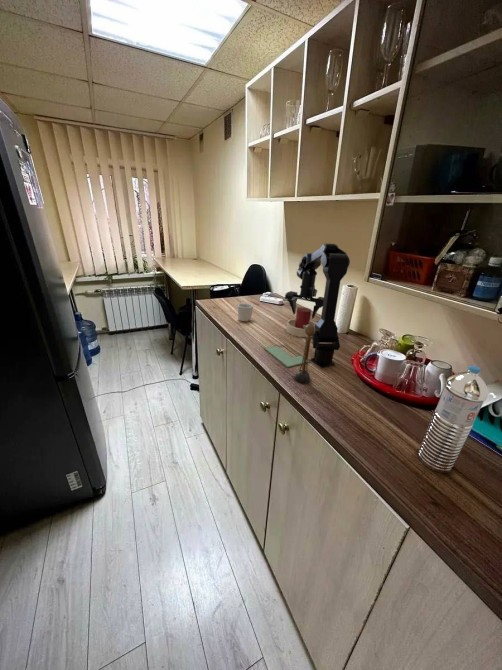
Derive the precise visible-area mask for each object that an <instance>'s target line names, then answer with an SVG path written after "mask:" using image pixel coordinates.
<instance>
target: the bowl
mask: <svg viewBox="0 0 502 670" xmlns="http://www.w3.org/2000/svg"><path fill="white" fill-rule="evenodd" d="M295 322H296V318H291V319H289V320H287V322H286V330H285V331H286V332H287V333H288V334H290V335H292V336H294V337H299V338H308V335H306V333H305V329H300V328H296V327H295ZM315 323H316V321H313V320H310V324H312V325H313V326H314V328H315ZM310 338H313V336H310Z"/></svg>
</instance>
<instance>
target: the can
mask: <svg viewBox="0 0 502 670" xmlns="http://www.w3.org/2000/svg"><path fill="white" fill-rule="evenodd" d="M312 312H313V309H312V308H309V307H304V306H303V307H301V306H300V307H296V313H295V314H296V316H295V319H296V322H295V327H296V328H300V329H304V328H303V325H308V324H310V321H311V318H312Z"/></svg>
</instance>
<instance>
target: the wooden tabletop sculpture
mask: <svg viewBox="0 0 502 670" xmlns="http://www.w3.org/2000/svg"><path fill="white" fill-rule="evenodd" d="M303 328H304V329H305V333H306V335H308V337H305V344H304V351H303V355H302V357H303V360H304V362H303V360H302V363H301V364H300V367H299V369H298V371H297V372H296V373H295V378H294V379H295V381H296V382H298V383H300V384H308V383H309V382H310V378H311V376H310V373H309V372H308V363H309V362H308V361H309V355H310V354H309V353H310V347H311V342H312V341H311V340H312V337H310V336H313V335H314V333H315V328H314V326H313V325H312V324H308V325H303ZM306 360H307V363H306Z"/></svg>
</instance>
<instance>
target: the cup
mask: <svg viewBox="0 0 502 670" xmlns="http://www.w3.org/2000/svg"><path fill="white" fill-rule="evenodd" d="M253 311H254V304H252V303H248V302H240V303H238V304H237V318H238V320H239V321H240V322H250V321H251V319H252V316H253Z"/></svg>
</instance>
